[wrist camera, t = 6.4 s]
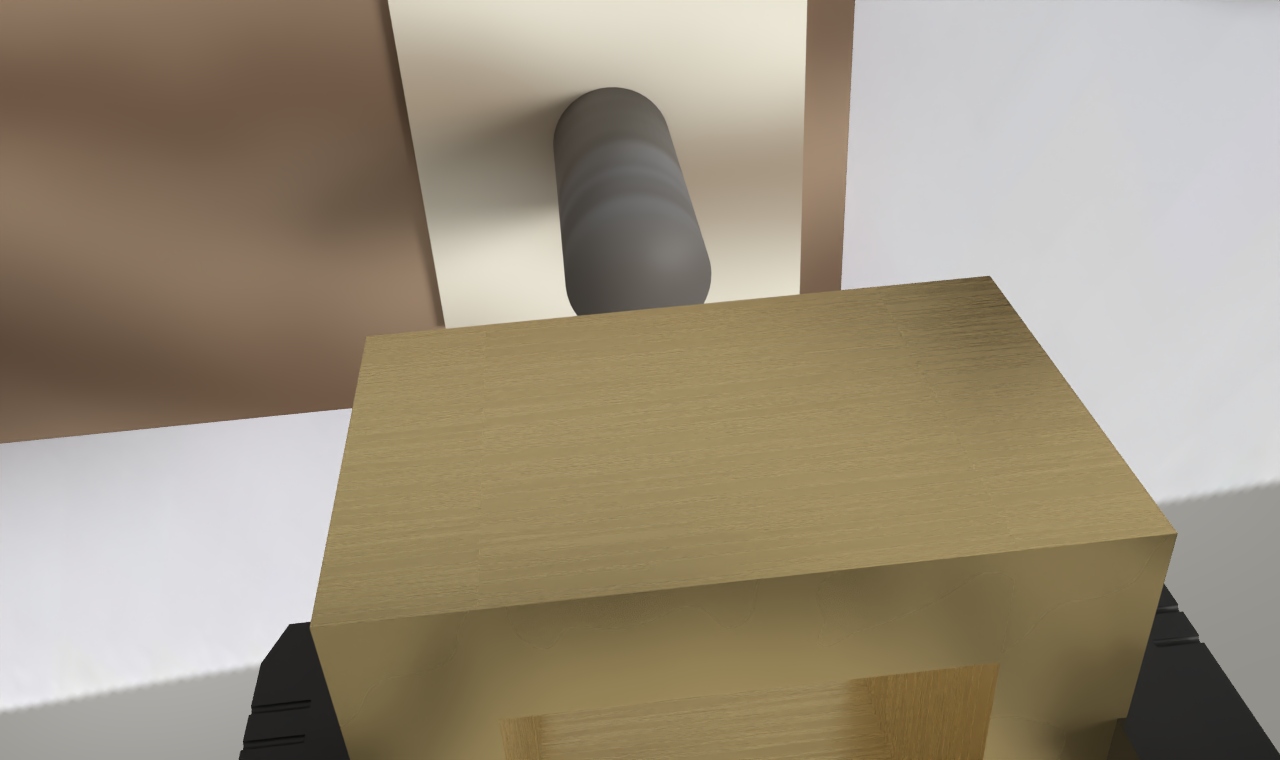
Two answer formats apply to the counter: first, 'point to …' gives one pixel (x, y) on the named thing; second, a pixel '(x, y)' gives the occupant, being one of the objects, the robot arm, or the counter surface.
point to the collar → (735, 539)
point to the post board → (387, 184)
